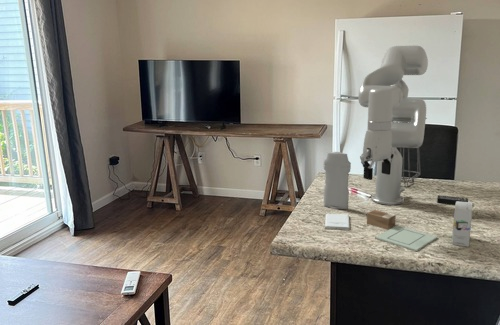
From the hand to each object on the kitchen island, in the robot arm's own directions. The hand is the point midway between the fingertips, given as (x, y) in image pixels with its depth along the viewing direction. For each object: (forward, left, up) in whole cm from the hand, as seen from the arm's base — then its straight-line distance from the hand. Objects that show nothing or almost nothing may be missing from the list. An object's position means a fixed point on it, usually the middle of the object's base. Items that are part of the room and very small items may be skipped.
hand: (377, 176), depth 150 cm
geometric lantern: (-52, -19, -18) cm, 58 cm away
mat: (+3, +13, -18) cm, 22 cm away
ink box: (-7, +26, -18) cm, 32 cm away
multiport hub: (-41, +9, -18) cm, 46 cm away
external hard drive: (+7, -11, -18) cm, 22 cm away
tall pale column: (-6, -21, -18) cm, 28 cm away
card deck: (-2, +1, -18) cm, 18 cm away
